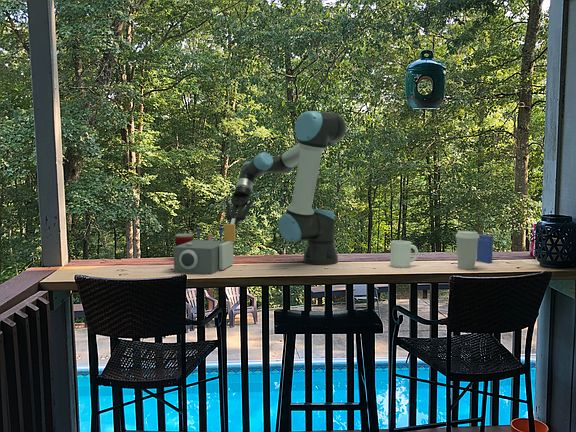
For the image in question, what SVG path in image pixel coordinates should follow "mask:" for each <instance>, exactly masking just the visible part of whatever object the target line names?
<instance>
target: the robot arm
mask: <svg viewBox="0 0 576 432" xmlns="http://www.w3.org/2000/svg"><path fill="white" fill-rule="evenodd" d="M346 131H347V124H346V121H345V119H344V118H343V116H341V115H340V114H339V113H335V112H331V111H330V112H329V111H328V112H327V111H319V110H318V111H317V110H309V111H305V112H303V113H301V114H300V115H299V116H298V117H297V119H296V120H295V124H294V133H295V137H296V138H297V139H298V143H296V144H295V145H294V146H291V148H289V149H287V150H286V151H285V152H284V153H282V154H280V155H277V156H276V155H275V156H272V155H271V154H270V153H267V152H266V151H265V152H263V151H262V152H260V153H259V154H257V155H256V156H255V157H254V158H253V159H252V160H251V161H249V160H248V161H245V162H244V163H243V164H242V166H241V167H240V172H239V175H238V178H237V182H236V185H235V188H234V191H233V195H232V197H231V199H230V200H225V202H224V203H225V205H226V209H225V210H226V215H225V216H226V220H227V221H229V222H228V224H235V226H236V228H238V227H239V223H240V222H244V221H245V219H246V217H247V216H248V214H249V212H250V211H251V209H252V208H253V207H254V201H252V200H250V199H251V195H252V192H253V188H254V185H255V181H256V180H257V178H259V177H261V176H262V175H263V174H269V173H270V174H271V173H273V174H274V173H276V174H277V173H283V174H286V173H291V172H293V171H294V168H295V167H296V165H297V170H296V174H295V182H294V187H293V193H292V197H291V203H290V204H289V205H287V207H286V210H285V213H283V214H282V215H281V216H280V217H279V218H278V221H277V222H278V223H277V225H278V226H277V227H278V231H279V233H280V235H281V236H282V238H283V239H284V240H285V241H288V242H300V241H307V244H306V247H305V250H304V252H303V257H302V258H303V263H305V264H308V265H322V266H324V265H334V264H337V263H338V262H339V257H338V253H337V249H336V246H335V221H336V220H335V212H334V211H332V210H331V209H330V210H327V209H318V208H313V207H312V206H313V203H314V197H315V191H316V185H317V181H318V177H319V170H320V166H321V165H320V164H321V159H322V154H323V151H324V150H326V149H327V148H328V147H332V146H333V145H335V144H337V143H338V142H340V141H341V140H342V139H343V137H344V136H345V134H346ZM232 205H233V206H232ZM231 206H232V210H231Z"/></svg>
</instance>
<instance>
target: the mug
mask: <svg viewBox="0 0 576 432" xmlns="http://www.w3.org/2000/svg"><path fill="white" fill-rule="evenodd" d="M412 249H413V250H414V257H412V258H411V252H412ZM418 257H419V249H418V248H417V246H416V245H414V244H412V242H411V241H409V240H401V239H399V240H391V241H390V259H389V260H390V266H391V267H393V268H398V267H406V268H409V267H410V266H411V263H413V262H415V261H416V260H417V259H418Z"/></svg>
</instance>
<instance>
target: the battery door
mask: <svg viewBox="0 0 576 432" xmlns="http://www.w3.org/2000/svg"><path fill="white" fill-rule="evenodd" d="M236 228H237V227H236V226H235V224H229V223H224V224H223V238H224V239H223V241H227V242H225V243H223V244H220V245H219V271H223V270H225V269H227V268H229V267H230V266H232V265H234V242H237V241H236V238H237V237H236V235H237V234H236V232H237V231H236Z"/></svg>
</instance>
